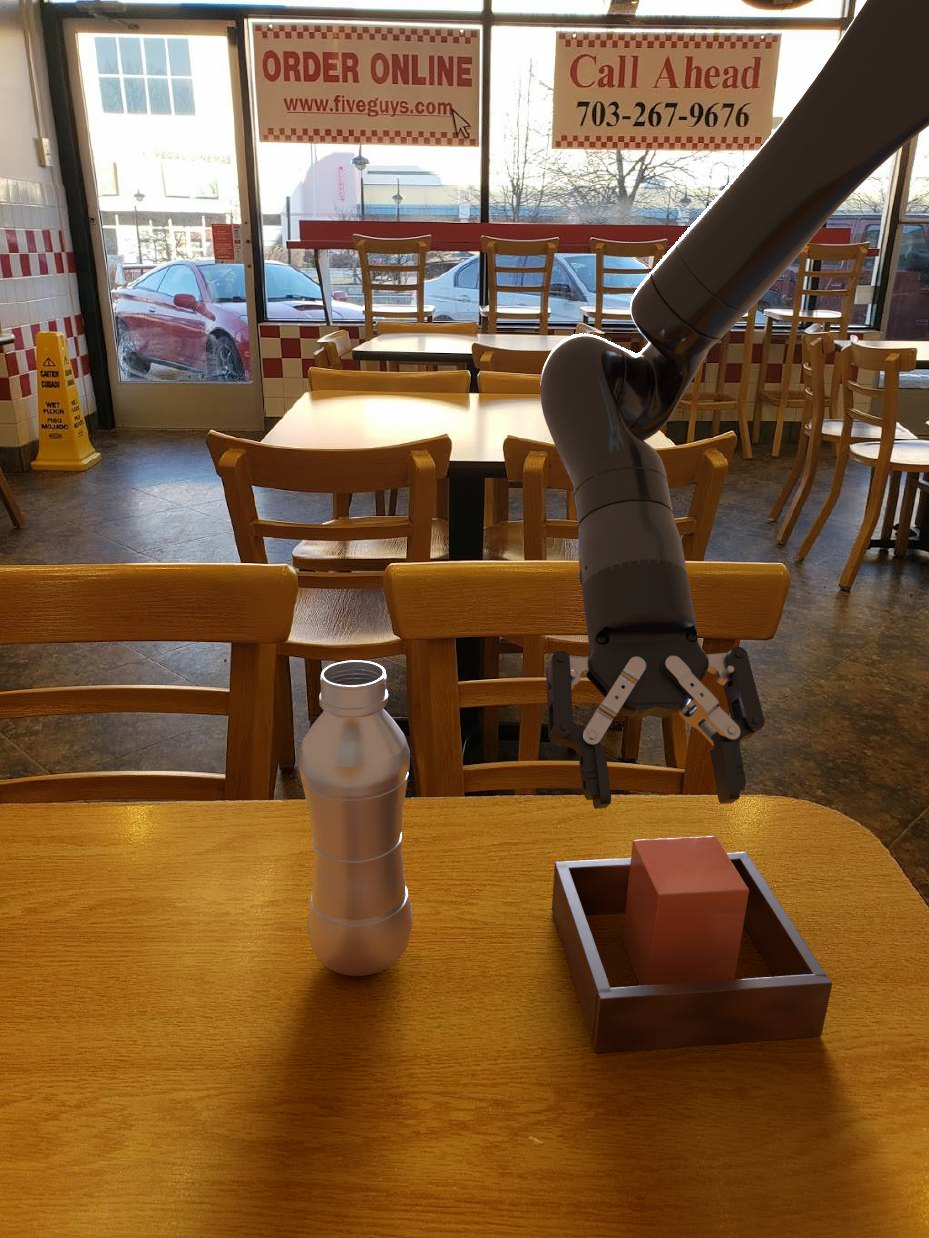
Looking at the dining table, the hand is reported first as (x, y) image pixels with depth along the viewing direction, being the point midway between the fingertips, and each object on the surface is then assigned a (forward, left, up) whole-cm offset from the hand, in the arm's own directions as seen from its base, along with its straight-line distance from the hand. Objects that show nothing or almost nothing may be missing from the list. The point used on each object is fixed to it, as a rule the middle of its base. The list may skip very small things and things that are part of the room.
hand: (667, 803), depth 61 cm
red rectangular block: (0, +5, -9) cm, 10 cm away
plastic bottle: (+20, +2, -9) cm, 22 cm away
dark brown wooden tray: (0, +5, -9) cm, 10 cm away
